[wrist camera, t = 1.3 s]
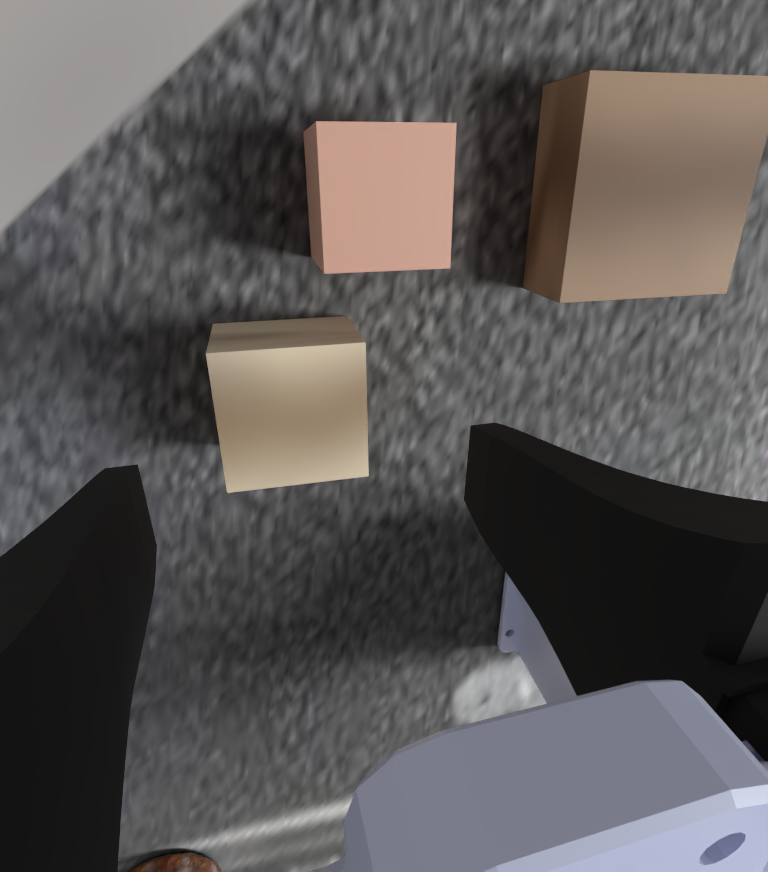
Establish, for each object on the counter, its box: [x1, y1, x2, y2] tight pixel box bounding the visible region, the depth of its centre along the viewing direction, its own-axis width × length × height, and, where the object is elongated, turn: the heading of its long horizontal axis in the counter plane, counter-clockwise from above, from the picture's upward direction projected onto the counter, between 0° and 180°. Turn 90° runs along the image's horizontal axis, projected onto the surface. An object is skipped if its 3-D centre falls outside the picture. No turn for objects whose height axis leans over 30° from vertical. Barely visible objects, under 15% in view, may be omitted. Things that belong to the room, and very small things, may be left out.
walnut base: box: [523, 70, 768, 303], centre depth 20 cm, size 7×7×3 cm
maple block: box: [206, 316, 369, 493], centre depth 20 cm, size 5×5×4 cm
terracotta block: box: [303, 121, 456, 274], centre depth 18 cm, size 4×4×4 cm
